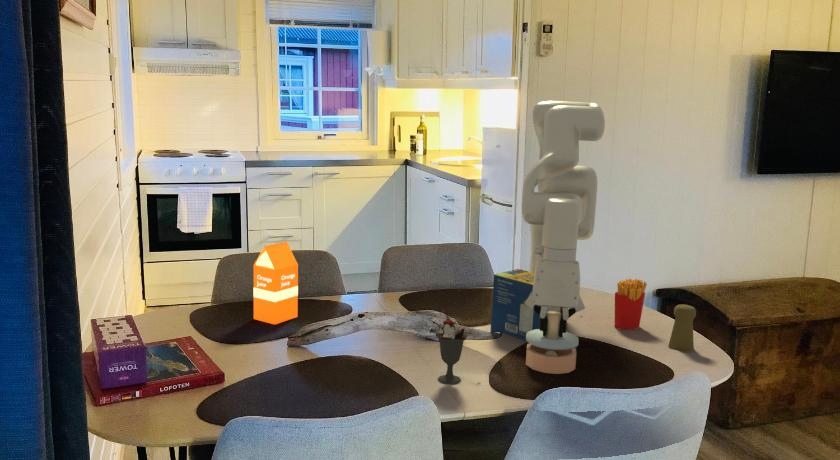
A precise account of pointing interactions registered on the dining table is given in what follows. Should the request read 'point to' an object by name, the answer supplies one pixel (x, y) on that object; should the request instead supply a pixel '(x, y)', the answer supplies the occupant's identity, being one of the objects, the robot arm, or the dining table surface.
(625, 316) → the french fries
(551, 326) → the lid
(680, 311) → the cork
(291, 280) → the orange juice
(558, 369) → the bowl
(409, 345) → the dining table surface
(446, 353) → the sundae
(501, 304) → the protein box
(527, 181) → the robot arm
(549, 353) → the egg
